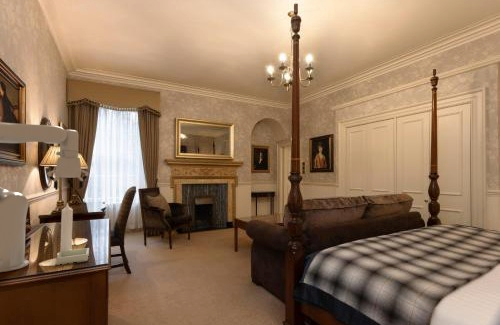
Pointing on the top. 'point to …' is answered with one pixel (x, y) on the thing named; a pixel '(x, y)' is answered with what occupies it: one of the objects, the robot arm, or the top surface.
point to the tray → (72, 256)
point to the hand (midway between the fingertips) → (68, 189)
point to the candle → (66, 228)
